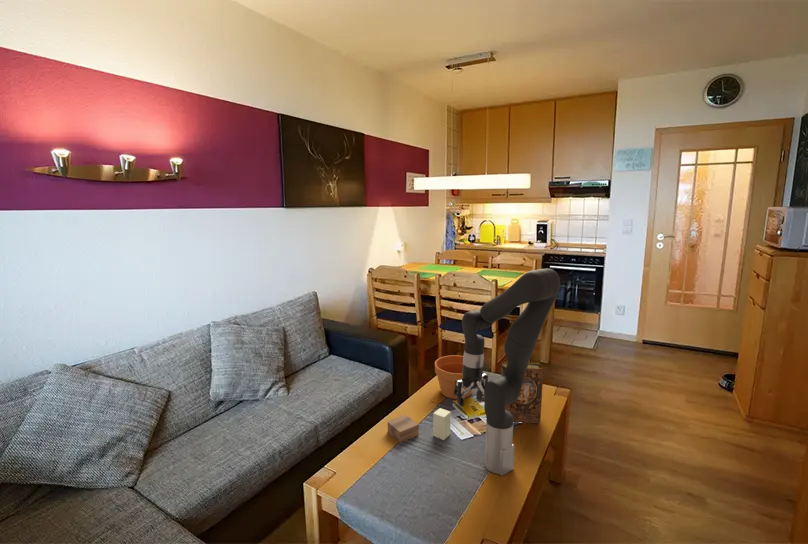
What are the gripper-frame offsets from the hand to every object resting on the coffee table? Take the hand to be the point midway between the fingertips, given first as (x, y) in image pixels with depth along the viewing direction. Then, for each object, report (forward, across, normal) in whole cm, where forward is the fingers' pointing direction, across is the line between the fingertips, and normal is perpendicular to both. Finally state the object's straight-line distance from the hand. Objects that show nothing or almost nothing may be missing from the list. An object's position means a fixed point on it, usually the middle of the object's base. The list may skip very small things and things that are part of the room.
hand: (470, 402), depth 154 cm
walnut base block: (+20, -17, +20) cm, 33 cm away
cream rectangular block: (+19, -4, +11) cm, 22 cm away
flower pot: (+19, +23, +36) cm, 47 cm away
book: (+18, +31, +3) cm, 36 cm away
